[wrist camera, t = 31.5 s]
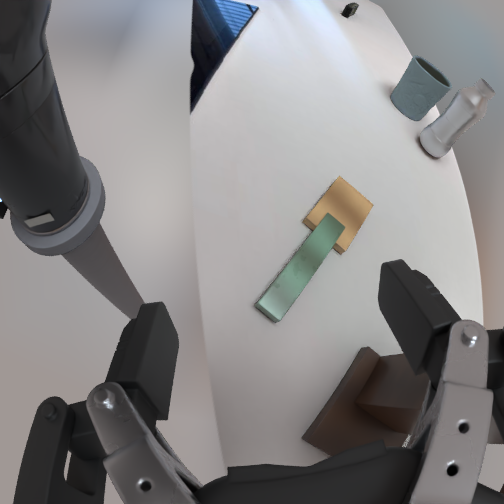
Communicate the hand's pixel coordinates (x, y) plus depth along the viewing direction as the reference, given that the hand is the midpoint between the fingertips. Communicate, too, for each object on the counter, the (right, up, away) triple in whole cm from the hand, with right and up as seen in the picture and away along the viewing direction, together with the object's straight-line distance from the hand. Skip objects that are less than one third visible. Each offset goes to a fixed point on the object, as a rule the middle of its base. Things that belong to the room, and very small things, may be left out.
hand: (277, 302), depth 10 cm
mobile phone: (+33, +86, +63) cm, 112 cm away
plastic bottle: (+34, +22, +38) cm, 56 cm away
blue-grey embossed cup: (+33, +34, +42) cm, 63 cm away
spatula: (+7, +3, +23) cm, 24 cm away
